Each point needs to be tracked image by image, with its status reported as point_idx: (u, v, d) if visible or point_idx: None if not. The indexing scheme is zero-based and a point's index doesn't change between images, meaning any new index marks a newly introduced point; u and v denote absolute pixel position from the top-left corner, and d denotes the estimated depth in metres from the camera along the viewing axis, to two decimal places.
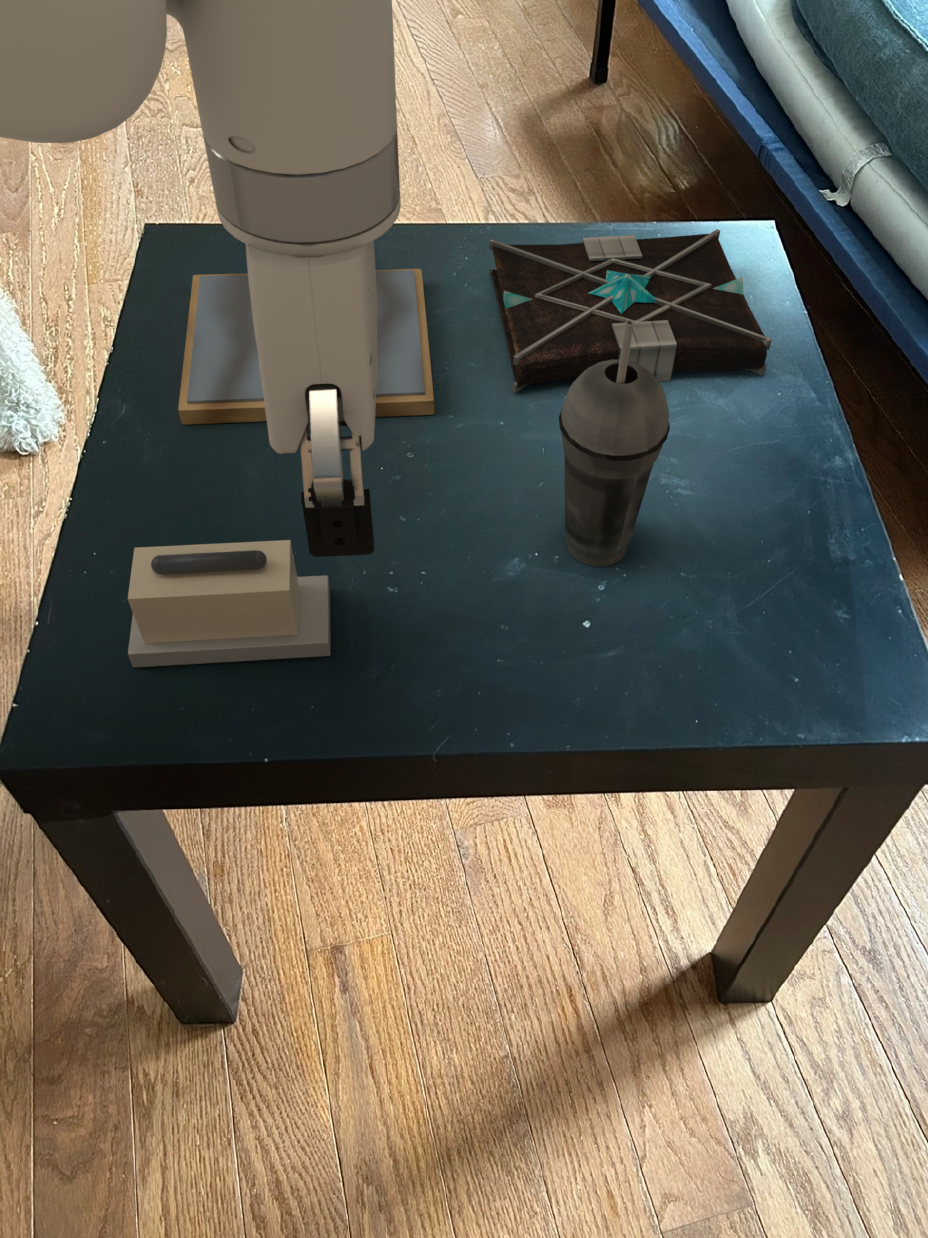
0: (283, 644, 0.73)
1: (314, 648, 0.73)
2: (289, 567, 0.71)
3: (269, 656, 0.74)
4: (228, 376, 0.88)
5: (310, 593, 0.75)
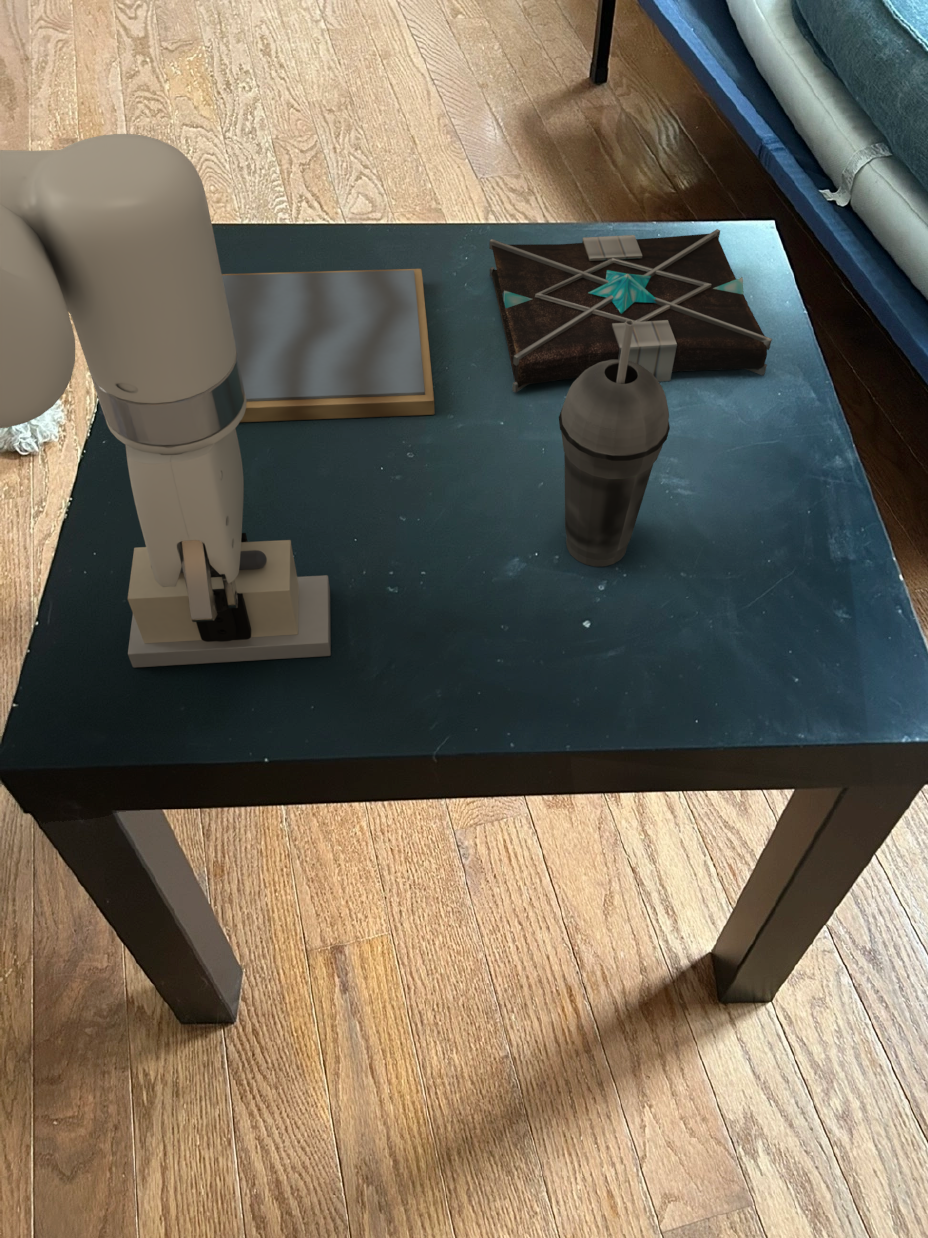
0: (283, 644, 0.73)
1: (314, 648, 0.73)
2: (289, 567, 0.71)
3: (269, 656, 0.73)
4: None
5: (310, 593, 0.75)
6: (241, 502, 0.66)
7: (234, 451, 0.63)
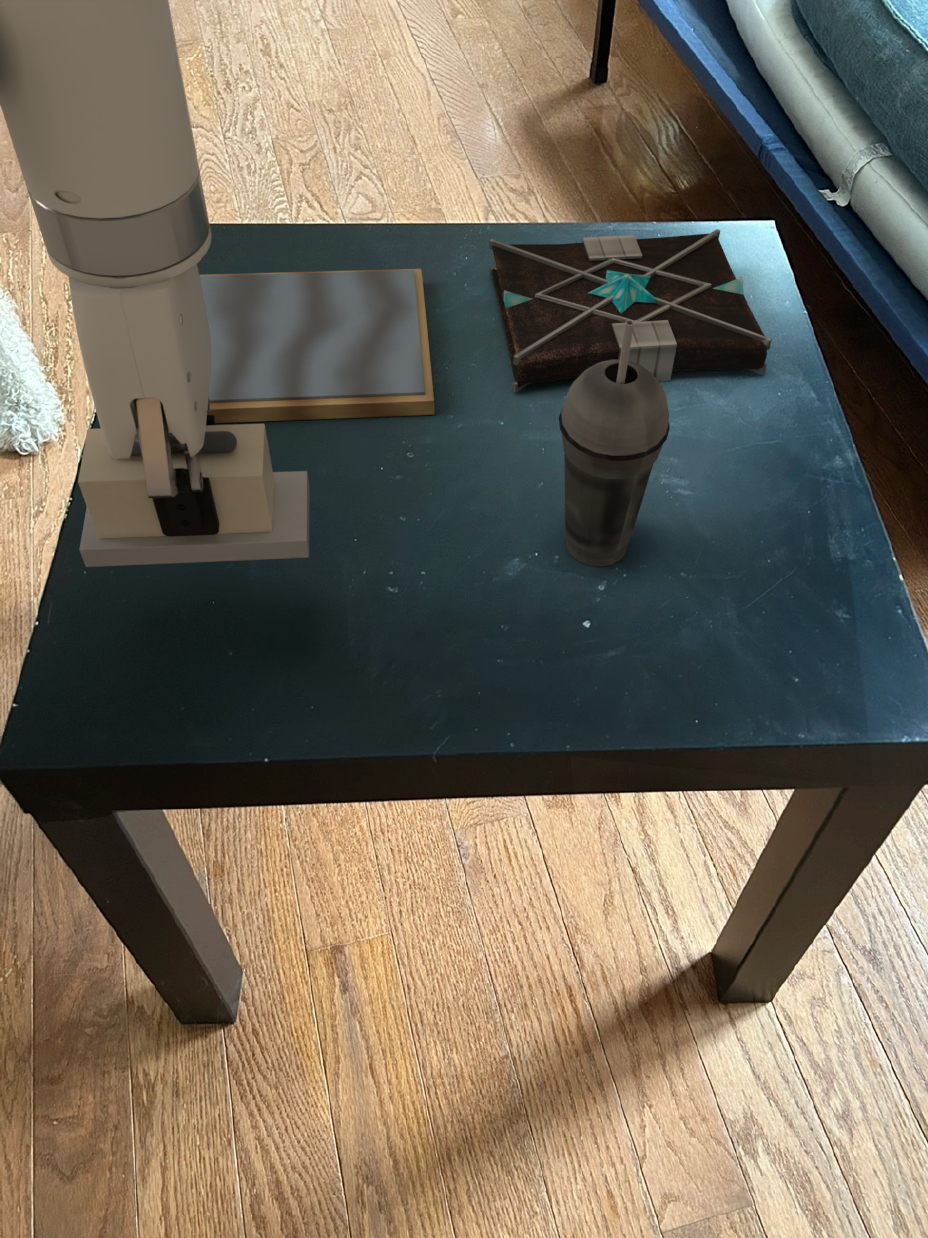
0: (256, 541, 0.65)
1: (290, 547, 0.65)
2: (262, 452, 0.63)
3: (239, 556, 0.65)
4: (228, 376, 0.88)
5: (286, 489, 0.67)
6: (207, 367, 0.58)
7: (198, 302, 0.55)
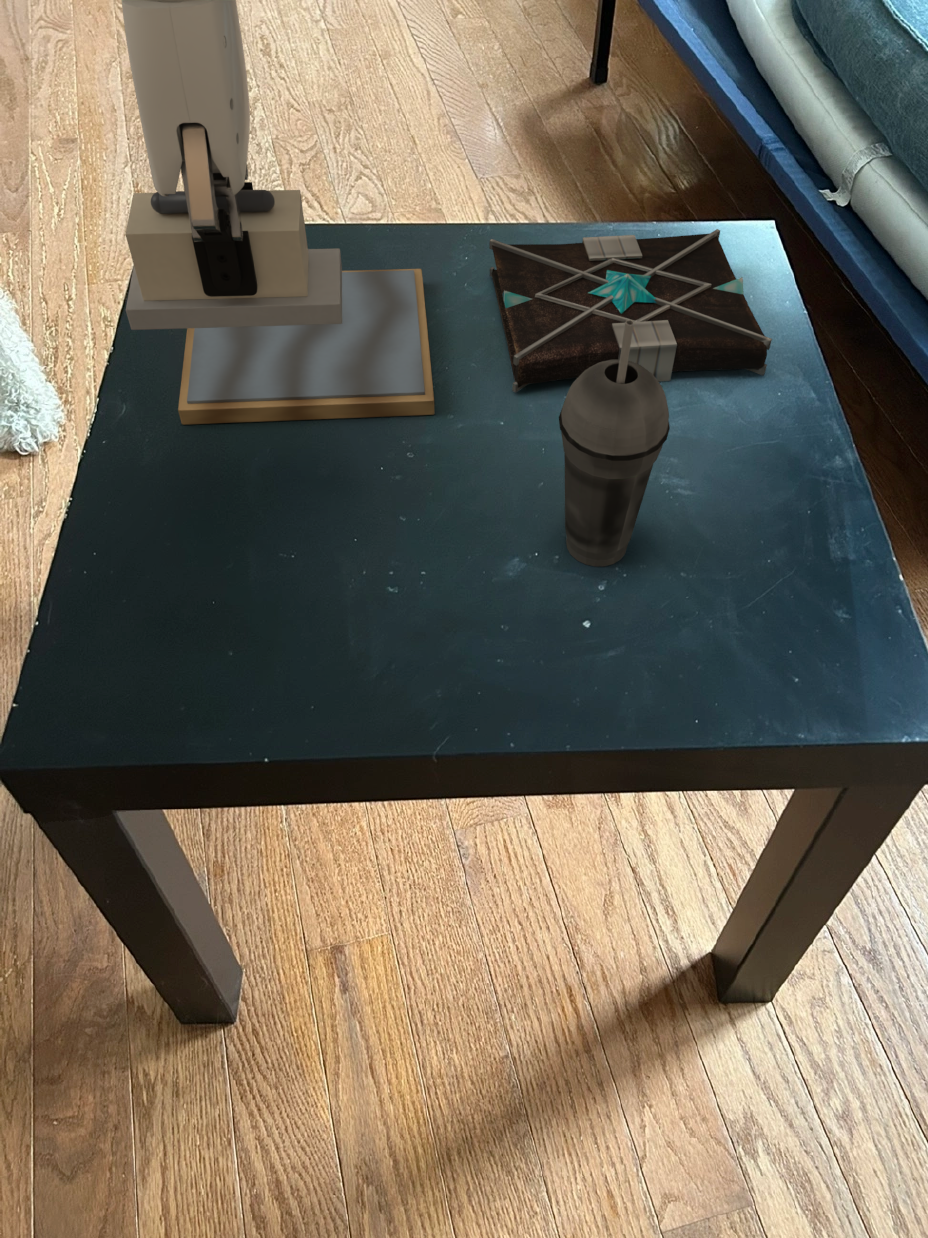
0: (292, 304, 0.68)
1: (325, 311, 0.69)
2: (298, 212, 0.66)
3: (276, 320, 0.69)
4: (228, 376, 0.88)
5: (320, 263, 0.71)
6: (247, 114, 0.61)
7: (239, 41, 0.59)
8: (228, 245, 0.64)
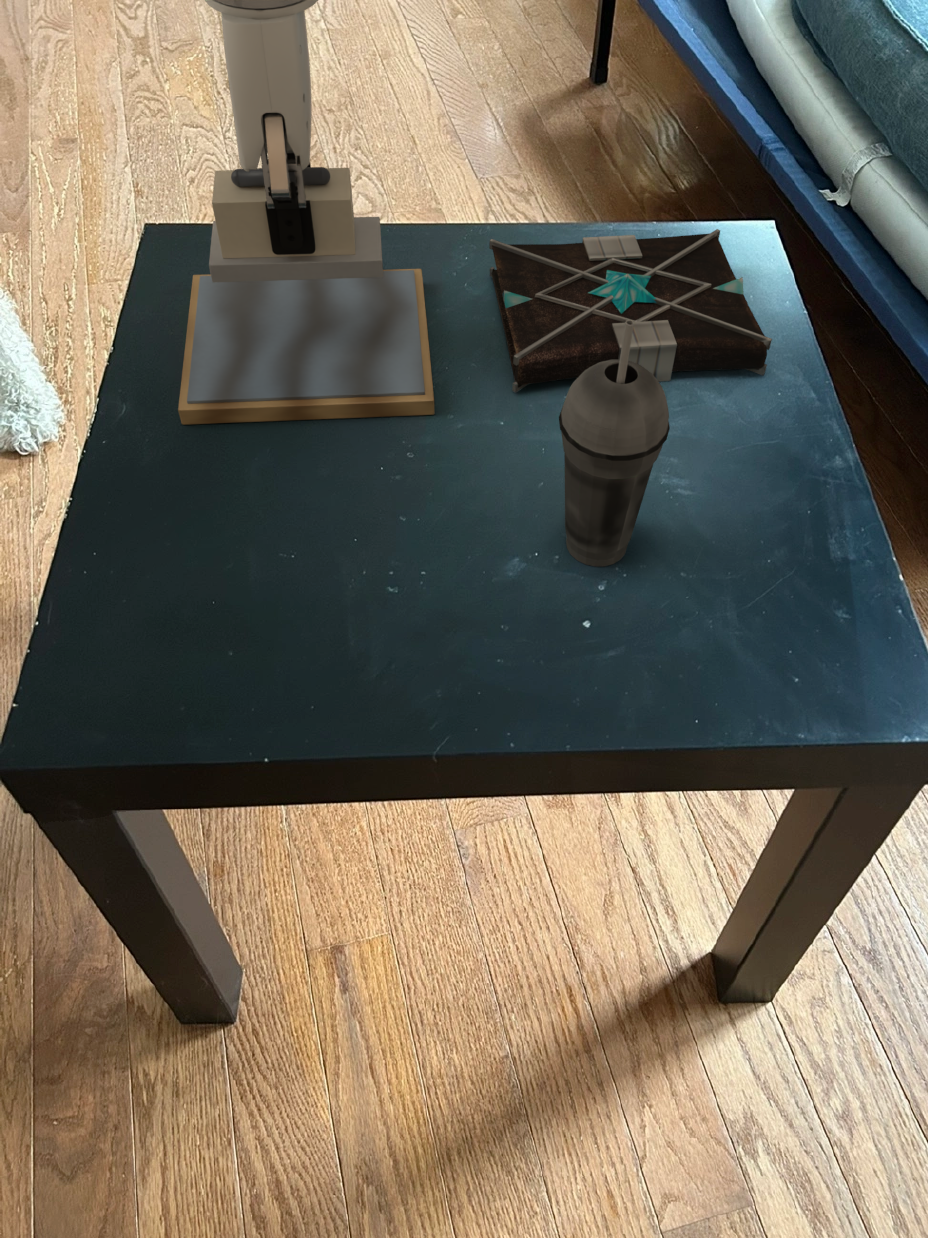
0: (343, 260, 0.84)
1: (369, 267, 0.84)
2: (349, 185, 0.82)
3: (330, 274, 0.85)
4: (228, 376, 0.88)
5: (364, 228, 0.86)
6: (311, 106, 0.77)
7: None
8: (294, 211, 0.80)
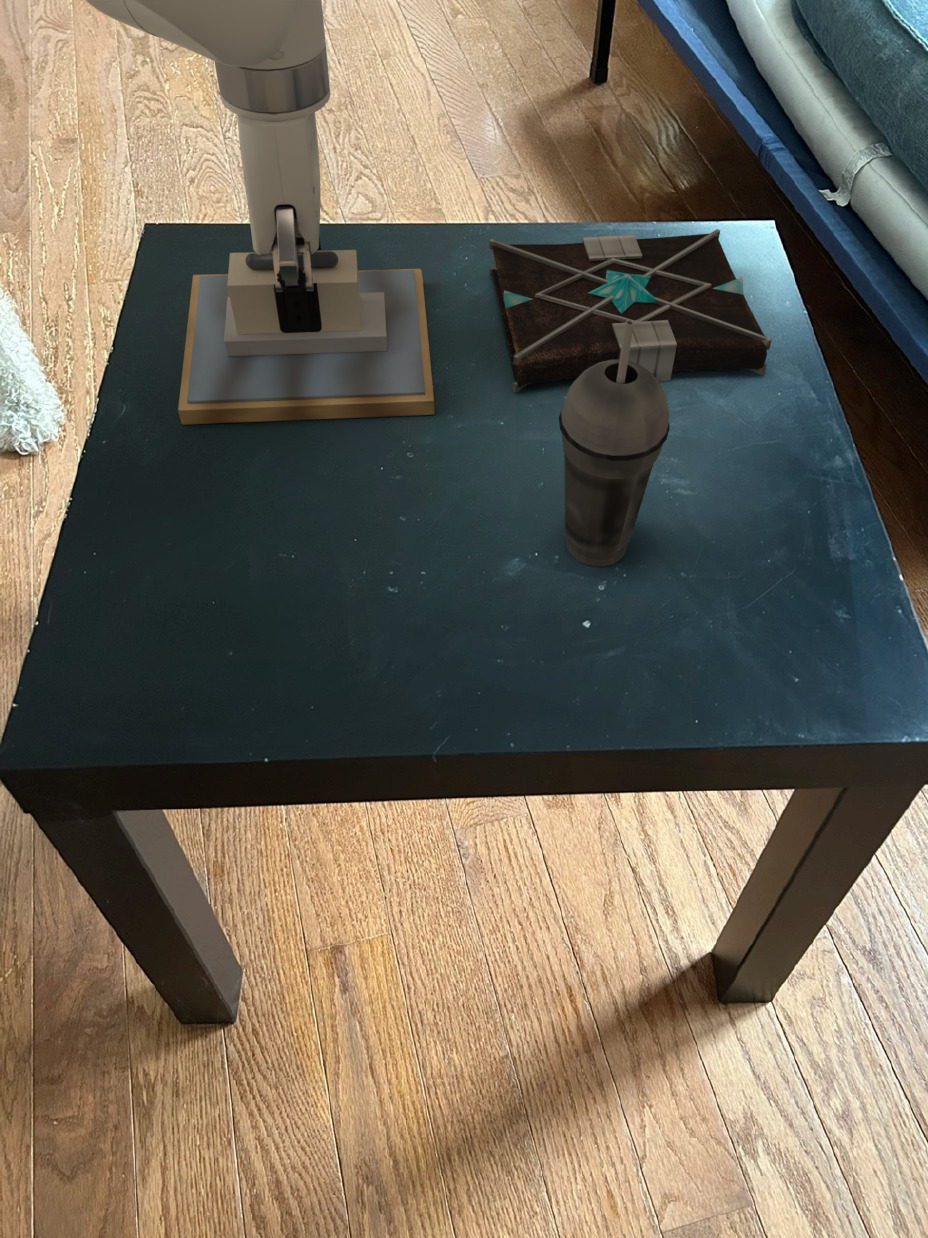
0: (350, 336, 0.89)
1: (374, 342, 0.90)
2: (356, 267, 0.87)
3: (337, 348, 0.90)
4: (228, 376, 0.88)
5: (369, 303, 0.92)
6: (320, 193, 0.82)
7: (317, 142, 0.80)
8: (302, 294, 0.82)
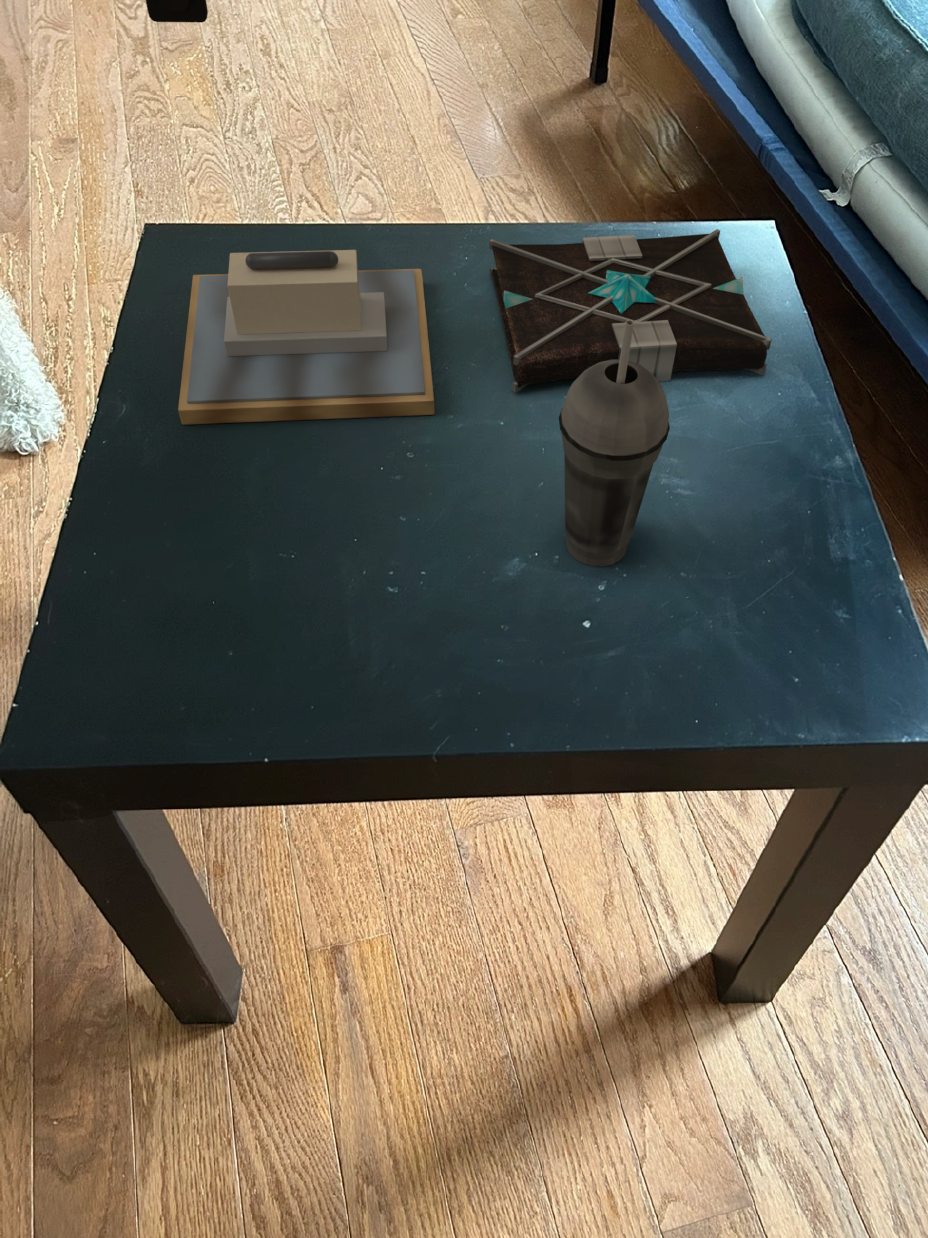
0: (350, 336, 0.89)
1: (374, 342, 0.90)
2: (356, 267, 0.87)
3: (337, 348, 0.90)
4: (228, 376, 0.88)
5: (369, 303, 0.92)
6: None
7: None
8: None
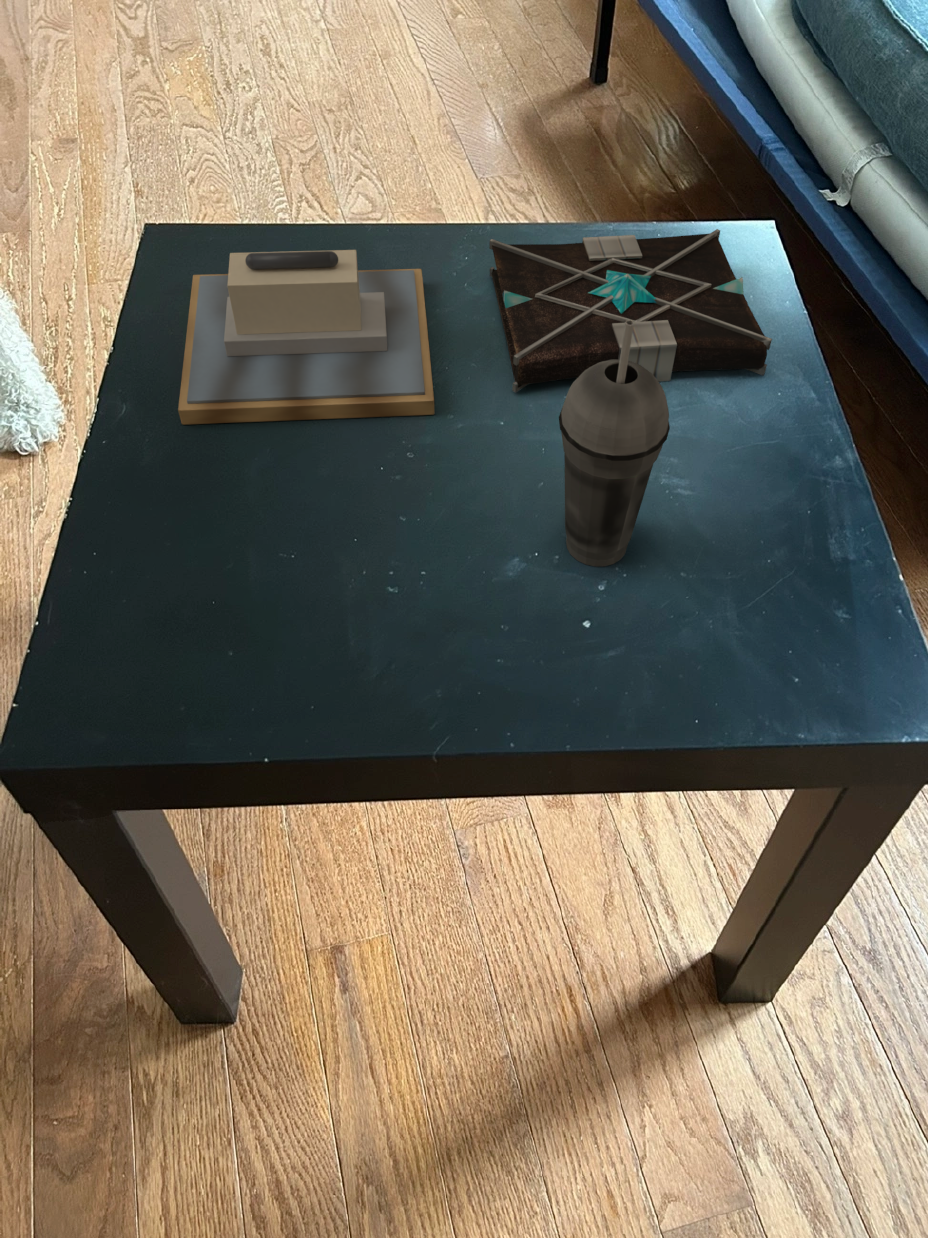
0: (350, 336, 0.89)
1: (374, 342, 0.90)
2: (356, 267, 0.87)
3: (337, 348, 0.90)
4: (228, 376, 0.88)
5: (369, 303, 0.92)
6: None
7: None
8: None
